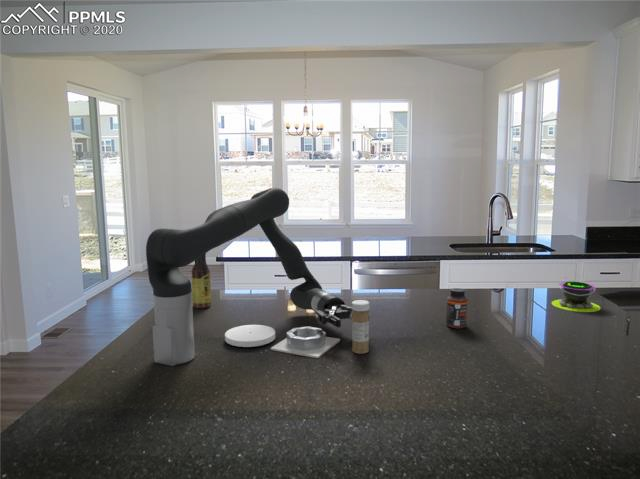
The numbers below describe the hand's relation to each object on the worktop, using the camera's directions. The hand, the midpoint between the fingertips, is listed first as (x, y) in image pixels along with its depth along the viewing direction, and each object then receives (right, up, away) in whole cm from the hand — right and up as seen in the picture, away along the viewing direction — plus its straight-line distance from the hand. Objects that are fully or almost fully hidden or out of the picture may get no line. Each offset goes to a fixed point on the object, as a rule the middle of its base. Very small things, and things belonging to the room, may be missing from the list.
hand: (353, 321), depth 133 cm
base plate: (-13, -7, +2) cm, 15 cm away
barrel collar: (-13, -7, +2) cm, 15 cm away
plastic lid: (-29, -7, +7) cm, 30 cm away
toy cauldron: (+79, -1, +38) cm, 87 cm away
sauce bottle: (-50, -2, +40) cm, 64 cm away
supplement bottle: (+32, -4, +17) cm, 37 cm away
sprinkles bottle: (+2, -8, -2) cm, 8 cm away
